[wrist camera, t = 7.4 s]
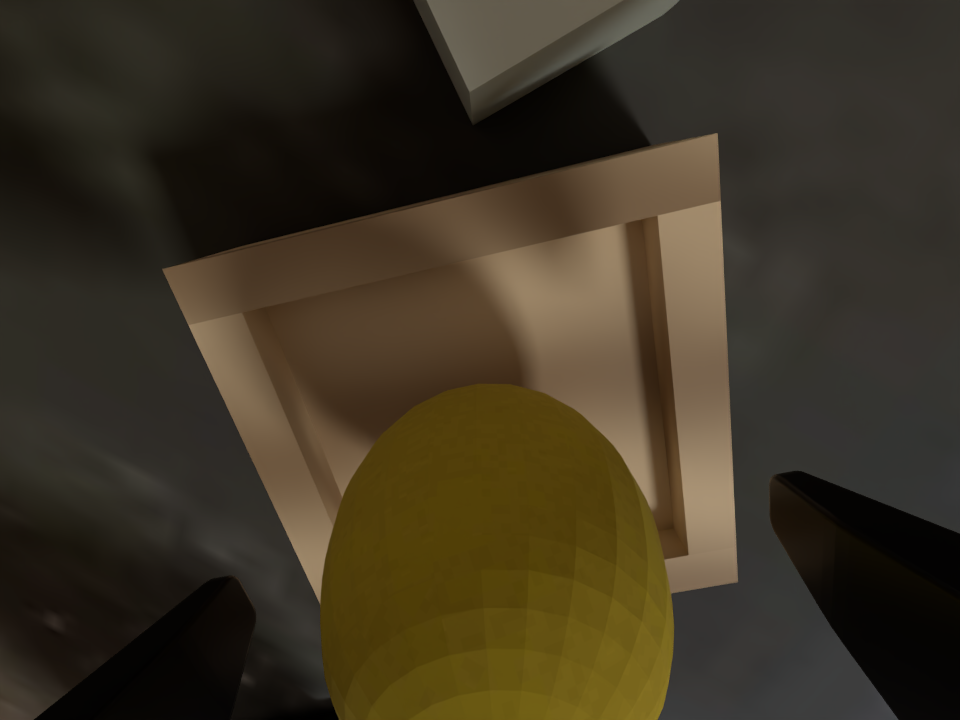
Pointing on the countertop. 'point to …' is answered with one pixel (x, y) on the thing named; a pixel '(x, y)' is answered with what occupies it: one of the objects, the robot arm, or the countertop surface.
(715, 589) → the countertop surface
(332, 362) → the square tray
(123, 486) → the countertop surface
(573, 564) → the lemon
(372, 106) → the countertop surface
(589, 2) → the ceramic cube
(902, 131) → the countertop surface
